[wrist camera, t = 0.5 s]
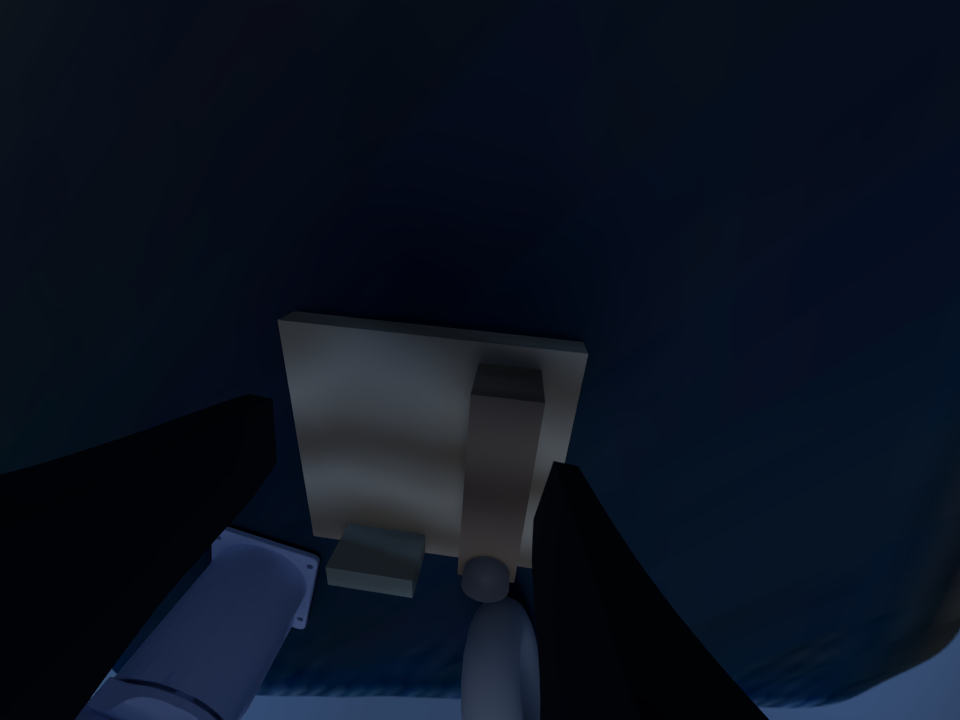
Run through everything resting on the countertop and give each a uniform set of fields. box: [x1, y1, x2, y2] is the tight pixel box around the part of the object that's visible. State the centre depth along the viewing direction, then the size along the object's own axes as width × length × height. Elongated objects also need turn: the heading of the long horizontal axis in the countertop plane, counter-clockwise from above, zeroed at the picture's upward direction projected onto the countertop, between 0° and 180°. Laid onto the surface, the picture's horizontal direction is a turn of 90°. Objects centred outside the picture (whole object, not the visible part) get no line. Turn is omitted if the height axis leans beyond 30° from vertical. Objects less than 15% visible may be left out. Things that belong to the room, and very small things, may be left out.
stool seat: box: [278, 311, 588, 598], centre depth 20 cm, size 15×15×4 cm
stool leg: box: [458, 363, 545, 603], centre depth 18 cm, size 12×3×4 cm, turn 176°
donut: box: [461, 596, 540, 720], centre depth 23 cm, size 10×4×10 cm, turn 17°
